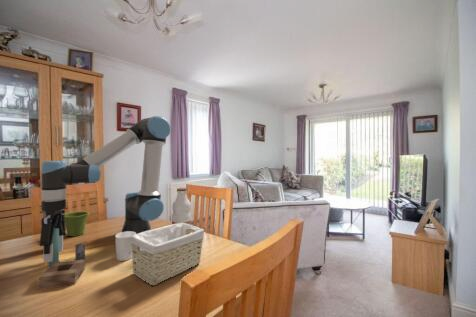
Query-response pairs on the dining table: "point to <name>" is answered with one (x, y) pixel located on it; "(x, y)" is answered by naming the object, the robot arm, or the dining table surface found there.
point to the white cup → (124, 245)
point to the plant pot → (75, 223)
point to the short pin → (80, 251)
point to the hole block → (62, 274)
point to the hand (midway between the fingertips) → (53, 256)
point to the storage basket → (166, 251)
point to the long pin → (55, 247)
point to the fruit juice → (181, 208)
